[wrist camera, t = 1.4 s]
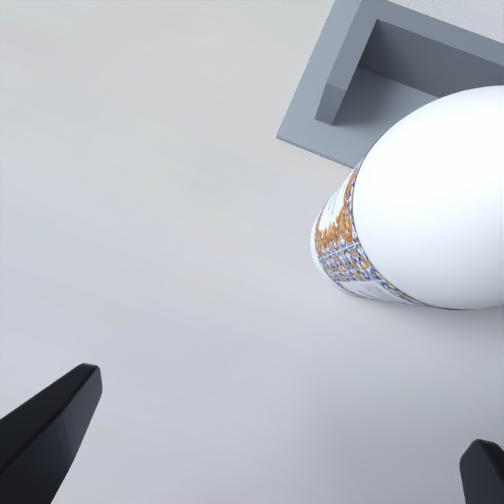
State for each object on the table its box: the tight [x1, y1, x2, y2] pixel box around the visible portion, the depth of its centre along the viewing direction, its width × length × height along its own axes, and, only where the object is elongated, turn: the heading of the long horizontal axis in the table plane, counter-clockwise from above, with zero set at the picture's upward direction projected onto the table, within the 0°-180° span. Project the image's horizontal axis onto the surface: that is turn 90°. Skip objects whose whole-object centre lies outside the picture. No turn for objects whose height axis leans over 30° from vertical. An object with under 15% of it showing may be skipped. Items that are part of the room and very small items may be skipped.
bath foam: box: [310, 85, 504, 310], centre depth 14 cm, size 7×7×20 cm
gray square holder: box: [276, 0, 504, 169], centre depth 22 cm, size 11×16×5 cm
